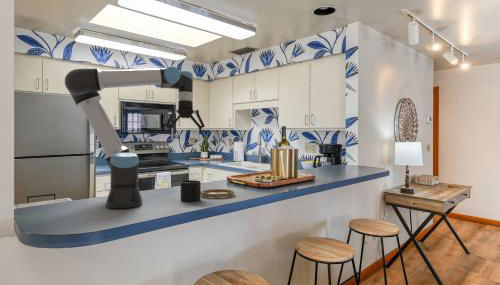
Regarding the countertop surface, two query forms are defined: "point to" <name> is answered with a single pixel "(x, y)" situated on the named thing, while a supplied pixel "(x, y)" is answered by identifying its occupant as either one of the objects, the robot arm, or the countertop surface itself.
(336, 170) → the countertop surface
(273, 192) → the countertop surface
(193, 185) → the mug
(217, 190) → the tray
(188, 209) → the countertop surface
